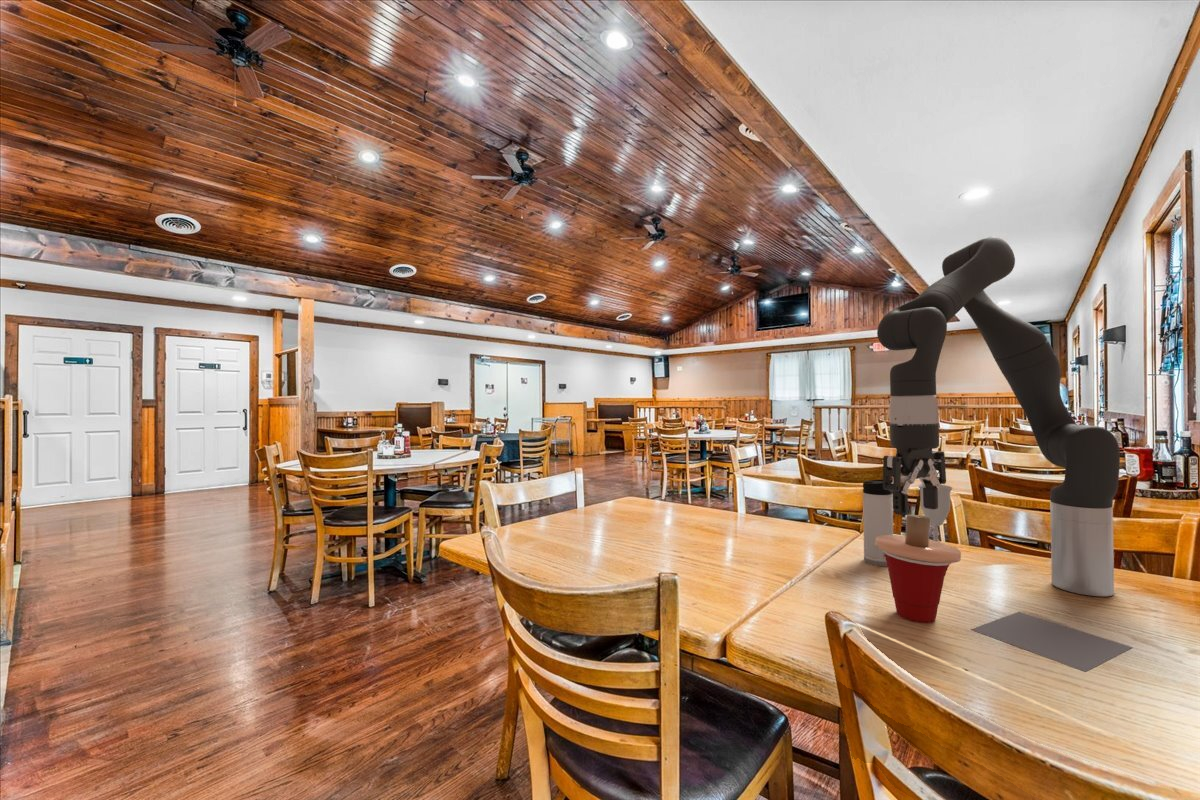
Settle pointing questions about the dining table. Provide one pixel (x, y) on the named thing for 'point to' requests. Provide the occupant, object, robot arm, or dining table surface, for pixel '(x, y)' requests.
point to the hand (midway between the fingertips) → (915, 511)
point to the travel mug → (876, 519)
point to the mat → (1053, 640)
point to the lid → (918, 543)
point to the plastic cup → (916, 587)
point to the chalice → (941, 512)
